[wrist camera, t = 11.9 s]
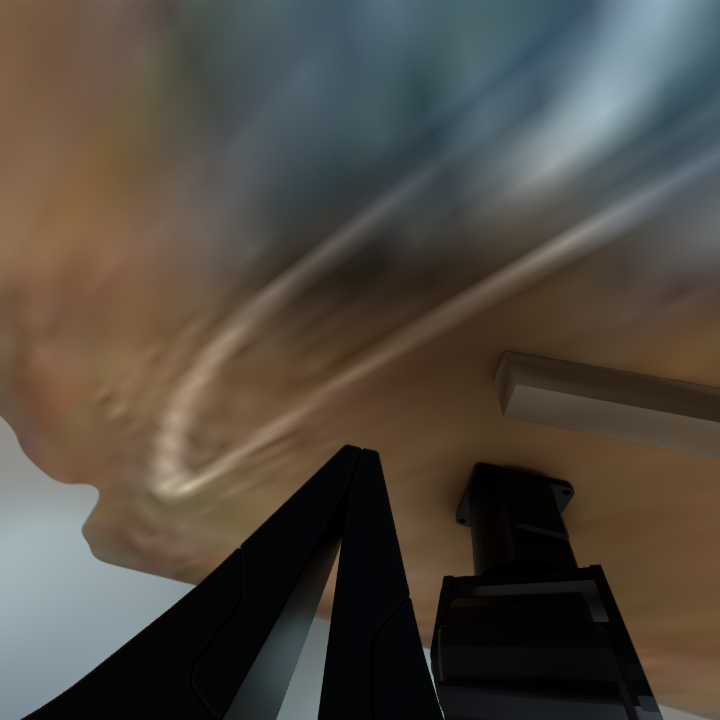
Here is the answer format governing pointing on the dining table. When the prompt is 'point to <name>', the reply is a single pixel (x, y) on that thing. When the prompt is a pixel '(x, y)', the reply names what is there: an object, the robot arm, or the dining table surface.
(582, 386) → the chute
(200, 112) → the dining table surface
